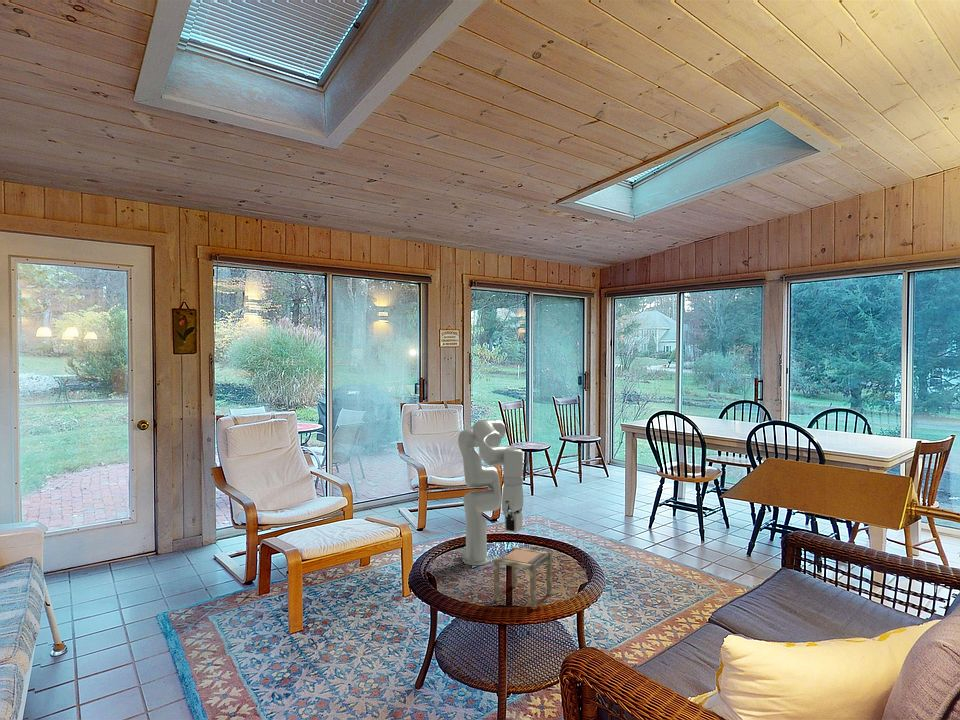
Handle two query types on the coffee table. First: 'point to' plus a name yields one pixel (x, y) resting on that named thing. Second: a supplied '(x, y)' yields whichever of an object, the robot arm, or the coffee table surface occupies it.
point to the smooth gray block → (516, 522)
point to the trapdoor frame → (532, 568)
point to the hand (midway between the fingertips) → (513, 527)
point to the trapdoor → (523, 556)
